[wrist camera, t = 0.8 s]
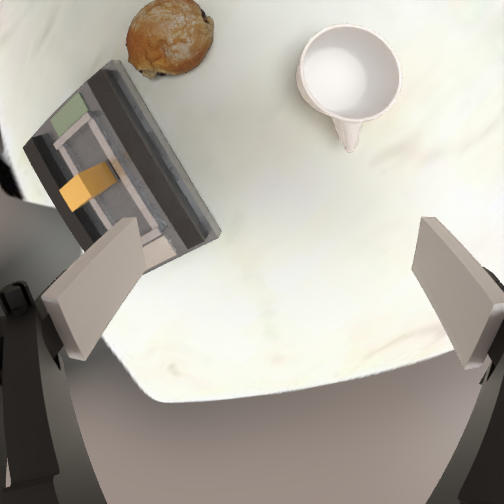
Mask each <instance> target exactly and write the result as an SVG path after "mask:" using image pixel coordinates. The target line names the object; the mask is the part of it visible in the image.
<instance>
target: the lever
mask: <svg viewBox="0 0 504 504" xmlns="http://www.w3.org/2000/svg"><path fill="white" fill-rule="evenodd" d="M119 180H120V177H119V176H118V174H117V172H116V171H115V169H114V167H113V166H112V164H111V162H110V161H109V159H108V160H106V161H105V162H102V163H100V164H98V165H96V166H93V167H91V168H89V169H87V170H85V171H82V172H80V173H78V174H77V175H76V176H74V177H73V178H72V179H71V180H70V181H69V182H68V183H67V184H66V185H64V186H63V187H62V188H61V189H60V190H59V191H60V193H61V195H62V196H63V198H64V200H65V201H66V203H67V204H68V206H69V208H70V209H71V211H72V212H73V211H75V210H76V209H78V208H79V207H81V206H82V205H84V204H85V203H87V202H88V201H90V200H92V199H93V198H95V197H97V196H98V195H100V194H101V193H103V192H104V191H105V190H107V189H108V188H109V187H111V186H112V185H113V184H115V183H116V182H118V181H119Z"/></svg>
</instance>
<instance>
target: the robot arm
mask: <svg viewBox="0 0 504 504" xmlns="http://www.w3.org/2000/svg"><path fill="white" fill-rule="evenodd" d="M146 269H147V266H146V261H145V257H144V252H143V247H142V243H141V238H140V233H139V228H138V223H137V217H128V218H122V219H121V220H120V221H118V222H117V223H116V224H115V225H114V226H113V227H112V228H111V229H109V230H108V231H107V232H106V233H105V234H104V235H103V236H102V237H101V238H100V239H98V240H97V241H96V242H95V243H94V244H93V245H92V246H91V247H90V248H89V249H88V250H87V251H86V252H85V253H83V254H82V255H81V256H80V257H79V258H78V259H77V260H76V261H75V262H74V263H73V264H72V265H71V266H70V267H69V268H68V269H66V270H65V271H63V272H62V273H61V274H60V275H59V276H58V277H57V278H56V280H54V281H53V282H52V283H51V285H49V286H48V287H47V288H46V289H45V290H44V291H43V292H42V293H41V294H40V296H39V297H38V298H37V299H36V300H35V301H34V300H33V297H32V295H31V293H30V290H29V288H28V285H27V283H26V282H25V281H16V282H13V283H11V284H9V285H7V286H5V287H4V288H2V289H1V290H0V305H1V307H2V309H3V311H4V313H5V316H1V317H0V504H107V502H106V500H105V497H104V495H103V493H102V491H101V488H100V486H99V483H98V481H97V478H96V475H95V473H94V470H93V468H92V465H91V462H90V459H89V456H88V454H87V451H86V448H85V445H84V442H83V439H82V435H81V432H80V429H79V426H78V422H77V419H76V415H75V411H74V408H73V404H72V400H71V396H70V392H69V388H68V384H67V379H66V375H65V370H64V365H63V360H62V358H61V356H60V354H59V351H60V350H61V348H62V347H63V346H64V348H65V350H66V352H67V354H68V356H69V358H74V359H79V360H84V361H85V360H86V359H87V357H88V355H89V354H90V352H91V351H92V349H93V348H94V346H95V344H96V343H97V341H98V340H99V338H100V337H101V335H102V333H103V332H104V330H105V329H106V327H107V326H108V324H109V323H110V321H111V320H112V318H113V317H114V315H115V314H116V312H117V311H118V309H119V308H120V306H121V305H122V303H123V302H124V300H125V299H126V297H127V296H128V294H129V293H130V292H131V290H132V289H133V287H134V286H135V284H136V283H137V281H138V280H139V279H140V277H141V276H142V274H143V273H144V272H145V270H146ZM412 271H413V273H414V275H415V276H416V278H417V280H418V281H419V283H420V285H421V287H422V288H423V290H424V292H425V294H426V295H427V297H428V299H429V301H430V303H431V304H432V306H433V308H434V310H435V312H436V314H437V316H438V317H439V319H440V321H441V323H442V325H443V327H444V329H445V331H446V333H447V335H448V337H449V339H450V341H451V343H452V345H453V347H454V349H455V351H456V353H457V355H458V357H459V359H460V361H461V364H462V366H463V368H464V369H470V368H476V367H481V365H482V364H483V362H484V360H485V358H486V356H487V354H488V355H489V357H490V358H491V360H492V362H491V364H490V366H489V367H488V369H487V371H486V373H485V374H484V377H483V378H482V380H481V381H480V383H479V384H482V383H483V385H482V387H481V390H480V393H479V396H478V398H477V401H476V404H475V406H474V409H473V412H472V414H471V416H470V419H469V421H468V424H467V426H466V429H465V430H464V433H463V435H462V437H461V439H460V441H459V444H458V446H457V448H456V450H455V452H454V454H453V456H452V458H451V460H450V462H449V464H448V466H447V468H446V469H445V472H444V473H443V475H442V477H441V479H440V480H439V482H438V484H437V486H436V487H435V489H434V491H433V492H432V494H431V496H430V498H429V499H428V501H427V502H426V504H504V285H503V284H502V283H500V281H499V280H498V278H497V277H496V276H495V275H494V274H493V273H492V272H490V271H489V270H487V269H486V268H485V267H482V266H481V265H480V264H479V263H478V261H477V260H476V259H475V258H474V257H473V256H472V255H471V254H470V253H469V252H468V250H467V249H466V248H465V247H464V246H463V245H462V244H461V243H460V242H459V241H458V240H457V239H456V238H455V237H454V236H453V235H452V234H451V232H450V231H449V230H448V229H447V228H446V227H445V226H444V225H443V224H442V223H441V222H440V221H439V220H438V219H437V218H436V217H421V221H420V227H419V233H418V239H417V245H416V250H415V255H414V260H413V265H412ZM7 458H8V465H9V471H10V477H11V485H10V487H7V488H6V467H7Z"/></svg>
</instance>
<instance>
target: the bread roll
mask: <svg viewBox="0 0 504 504" xmlns="http://www.w3.org/2000/svg"><path fill="white" fill-rule="evenodd" d="M213 28H214V24H213V20H212V18H211V17H210V16H209V17H206V15H205V13H204V11H203V10H202V9H200V6H199V5H198V4H197V3H196V2H194V1H193V0H155V1H152V2H150V3H149V4H148V5H146V6H145V7H144V8H143V9H141V10H140V11H139V13H138V14H137V15H136V16H135V17H134V18H133V20H132V23H131V25H130V27H129V30H128V34H127V38H126V44H125V45H126V46H127V50H128V53H129V54H128V55H129V59H128V62H130V63H131V64H132V65H133V66H134V67H135V68H136V70H138V71H139V72H140V73H142V75H143V76H145V77H147V78H149V79H154V78H155V76H156V75H155V74H157V73H158V74H159V75H160V76H164V75H167V74H173V75H178V74H181V73H187V72H188V71H190V70H192V69H193V68H195V67H196V66H198V65H199V64H200V62H201V61H202V60H203V58H204V57H205V55H206V53H207V51H208V49H209V48H210V46H211V43H212V41H213ZM152 66H153V67H152Z"/></svg>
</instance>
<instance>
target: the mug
mask: <svg viewBox="0 0 504 504" xmlns="http://www.w3.org/2000/svg"><path fill="white" fill-rule="evenodd" d="M296 81H297V86H298V89H299V91H300V93H301V95H302V97H303V98H304V100H305V101H306V102H307V103H308V104H309V105H310V106H311V107H312V108H314V109H315V110H317V111H319V112H321V113H323V114H326V115H328V116H331V118H332V120H333V123H334V126H335V129H336V131H337V134H338V136H339V139H340V141H341V143H342V145H343V147H344V148H345V150H346V151H347V152H348V153H351V152H353V151H354V150H355V148H356V146H357V143H358V140H359V137H360V132H361V127H362V123H363V122H365V121H370V120H373V119H376V118H378V117H380V116H381V115H383V114H384V113H386V112H387V111H388V110H389V109H390V108H391V107H392V106H393V104H394V103H395V102H396V100H397V98H398V96H399V93H400V90H401V86H402V71H401V66H400V63H399V60H398V58H397V55H396V54H395V52H394V50H393V49H392V47H391V46H390V45H389V44H388V42H387V41H386V40H385V39H383V38H382V37H381V36H380V35H379V34H377V33H375V32H374V31H372V30H370V29H368V28H365V27H363V26H359V25H355V24H337V25H332V26H329V27H326V28H324V29H322V30H320V31H319V32H317V33H316V34H315V35H314V36H312V37H311V39H310V40H309V41H308V42H307V44H306V45H305V47H304V49H303V52H302V54H301V57H300V60H299V64H298V67H297V73H296Z"/></svg>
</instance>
